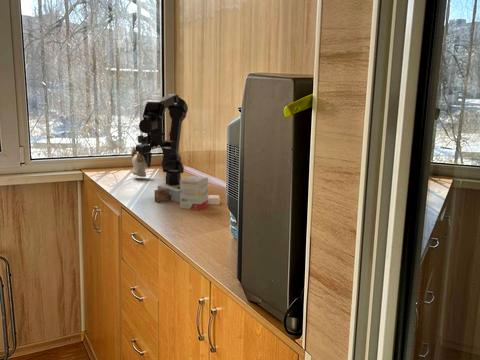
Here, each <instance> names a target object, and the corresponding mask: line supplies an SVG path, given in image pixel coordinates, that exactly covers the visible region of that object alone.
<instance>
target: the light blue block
mask: <svg viewBox="0 0 480 360" xmlns="http://www.w3.org/2000/svg"><path fill="white" fill-rule="evenodd" d="M172 187H173V186H169V185H166V184H165V185H163V184H160V185H157V190H158V189H163V188H165V189H168V194H169V195H171V200H170V201H171V202H176V203H180V189H176V188H172Z"/></svg>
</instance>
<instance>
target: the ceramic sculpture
mask: <svg viewBox="0 0 480 360" xmlns="http://www.w3.org/2000/svg"><path fill="white" fill-rule="evenodd" d="M130 154H131V163H132V167H133V168H132V170H131V173H132V175H134V176H137V177H140V178H147V172H146V169H147V168H148V167H147V164H146V162H145V159H144V157H143V156H142V154H141V153H138V152H136V150H135V146H133V147H132V150H131V153H130Z"/></svg>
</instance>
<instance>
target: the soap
mask: <svg viewBox="0 0 480 360" xmlns="http://www.w3.org/2000/svg"><path fill="white" fill-rule="evenodd" d="M220 198H221V197H220V195H218V194H208V205H220V202H221V200H220Z"/></svg>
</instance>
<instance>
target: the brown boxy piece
mask: <svg viewBox="0 0 480 360" xmlns="http://www.w3.org/2000/svg"><path fill="white" fill-rule="evenodd" d="M171 187H172V188H176V189H180V184H177V185H172V186H171ZM167 201H171V195H169V194H168V189H165V188H163V189H158V188H157V189H154V202H155V203H157V204H160V203H161V202H167Z"/></svg>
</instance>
